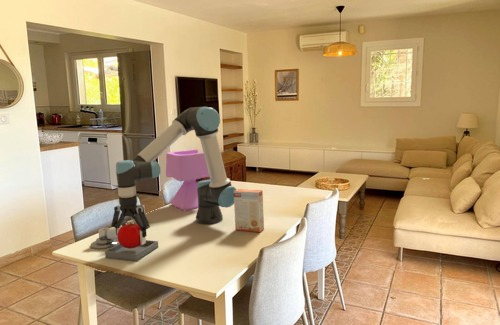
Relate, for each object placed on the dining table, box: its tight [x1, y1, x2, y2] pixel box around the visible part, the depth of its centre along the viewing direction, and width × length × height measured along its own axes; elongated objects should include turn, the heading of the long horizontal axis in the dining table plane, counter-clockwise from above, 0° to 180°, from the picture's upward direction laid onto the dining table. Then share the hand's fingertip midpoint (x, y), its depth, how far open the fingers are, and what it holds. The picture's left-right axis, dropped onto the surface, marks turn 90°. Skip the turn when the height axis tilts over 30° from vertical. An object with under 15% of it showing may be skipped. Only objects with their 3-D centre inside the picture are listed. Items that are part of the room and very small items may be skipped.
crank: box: [97, 220, 128, 240], centre depth 180 cm, size 15×5×8 cm, turn 80°
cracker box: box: [233, 188, 265, 233], centre depth 193 cm, size 14×6×21 cm, turn 65°
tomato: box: [117, 222, 141, 249], centre depth 169 cm, size 12×12×11 cm
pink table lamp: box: [165, 148, 210, 212], centre depth 246 cm, size 23×23×35 cm
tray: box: [104, 239, 159, 262], centre depth 170 cm, size 16×16×3 cm
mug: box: [129, 204, 147, 224], centre depth 214 cm, size 8×12×12 cm, turn 59°
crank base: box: [90, 237, 119, 250], centre depth 182 cm, size 13×13×3 cm
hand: (132, 242), depth 170 cm, fingers closed on tomato, 11 cm apart
